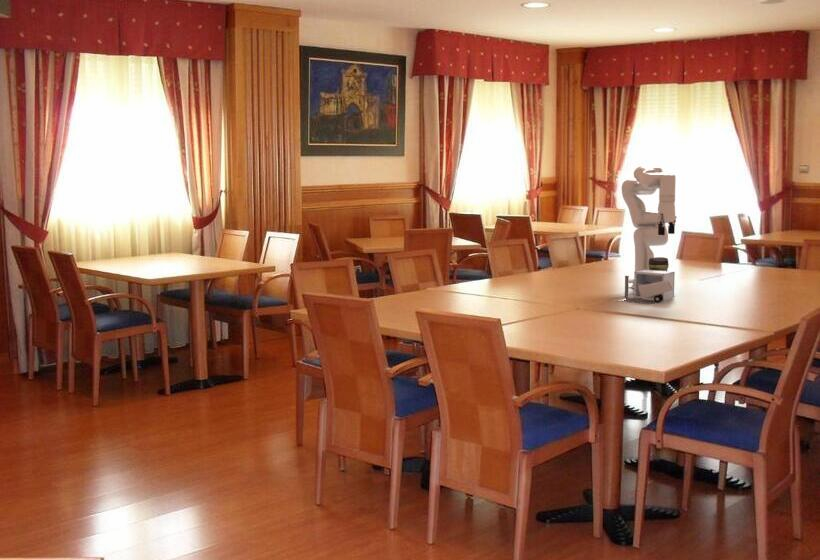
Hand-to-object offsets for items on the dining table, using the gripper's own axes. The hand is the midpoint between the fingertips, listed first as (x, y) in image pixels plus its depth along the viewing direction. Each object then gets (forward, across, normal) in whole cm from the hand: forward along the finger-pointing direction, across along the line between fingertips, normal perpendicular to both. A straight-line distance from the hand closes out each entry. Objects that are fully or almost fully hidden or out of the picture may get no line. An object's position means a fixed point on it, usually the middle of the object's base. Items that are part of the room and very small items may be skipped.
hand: (666, 234), depth 482 cm
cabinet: (+30, +11, 0) cm, 32 cm away
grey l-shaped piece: (+30, +24, -1) cm, 39 cm away
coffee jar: (+31, -2, -5) cm, 31 cm away
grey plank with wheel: (+28, +24, +1) cm, 37 cm away
